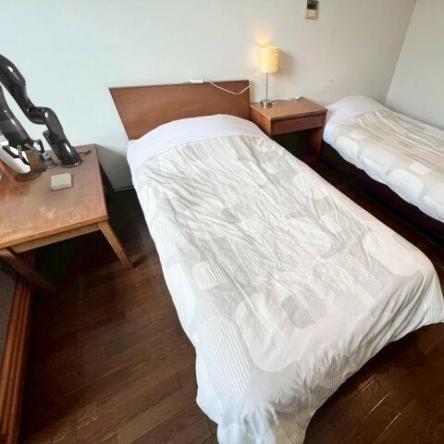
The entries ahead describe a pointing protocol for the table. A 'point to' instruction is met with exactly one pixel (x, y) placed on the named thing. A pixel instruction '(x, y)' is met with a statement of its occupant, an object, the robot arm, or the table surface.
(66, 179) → the tile
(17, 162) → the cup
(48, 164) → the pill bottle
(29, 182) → the table surface
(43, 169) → the brush
